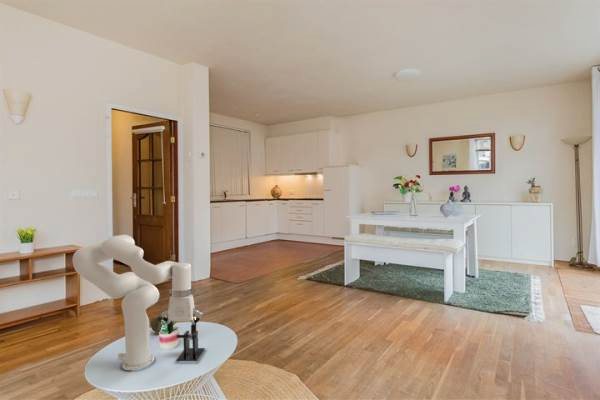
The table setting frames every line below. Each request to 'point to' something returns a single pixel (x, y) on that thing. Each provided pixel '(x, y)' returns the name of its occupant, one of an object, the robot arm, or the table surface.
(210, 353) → the table surface
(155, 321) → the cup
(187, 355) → the bracket
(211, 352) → the table surface
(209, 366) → the table surface
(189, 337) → the lever
